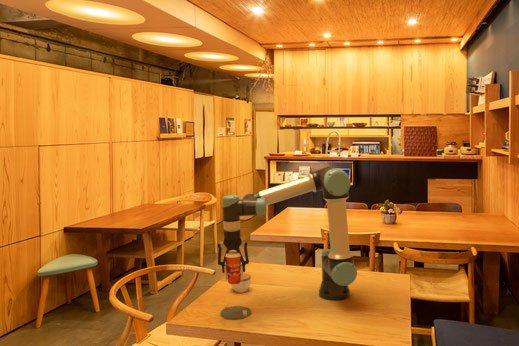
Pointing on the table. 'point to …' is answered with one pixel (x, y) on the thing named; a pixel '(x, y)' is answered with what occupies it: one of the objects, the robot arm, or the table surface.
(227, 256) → the paper cup
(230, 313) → the pad
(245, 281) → the lidded jar
